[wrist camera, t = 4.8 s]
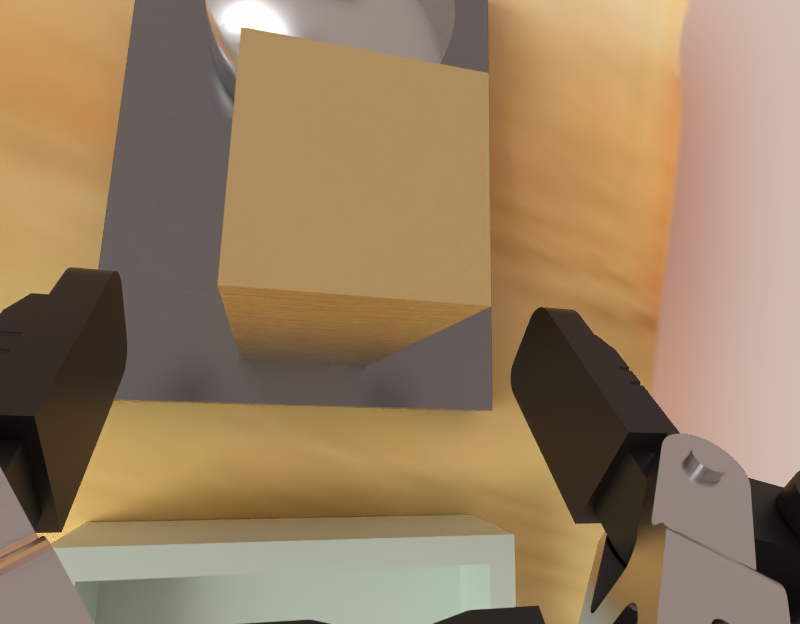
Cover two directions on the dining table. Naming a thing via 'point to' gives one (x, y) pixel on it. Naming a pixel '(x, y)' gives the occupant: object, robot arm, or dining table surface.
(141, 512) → the dining table surface
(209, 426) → the dining table surface
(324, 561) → the tray
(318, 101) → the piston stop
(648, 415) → the robot arm
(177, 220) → the crank base
